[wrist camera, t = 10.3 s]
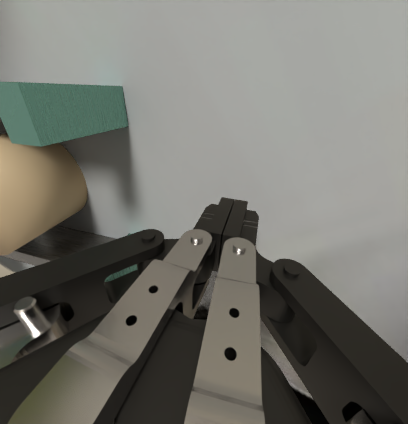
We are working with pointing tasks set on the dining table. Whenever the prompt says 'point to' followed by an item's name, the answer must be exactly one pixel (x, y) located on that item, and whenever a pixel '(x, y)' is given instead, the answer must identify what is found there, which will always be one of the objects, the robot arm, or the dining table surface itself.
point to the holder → (54, 133)
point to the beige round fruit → (36, 191)
